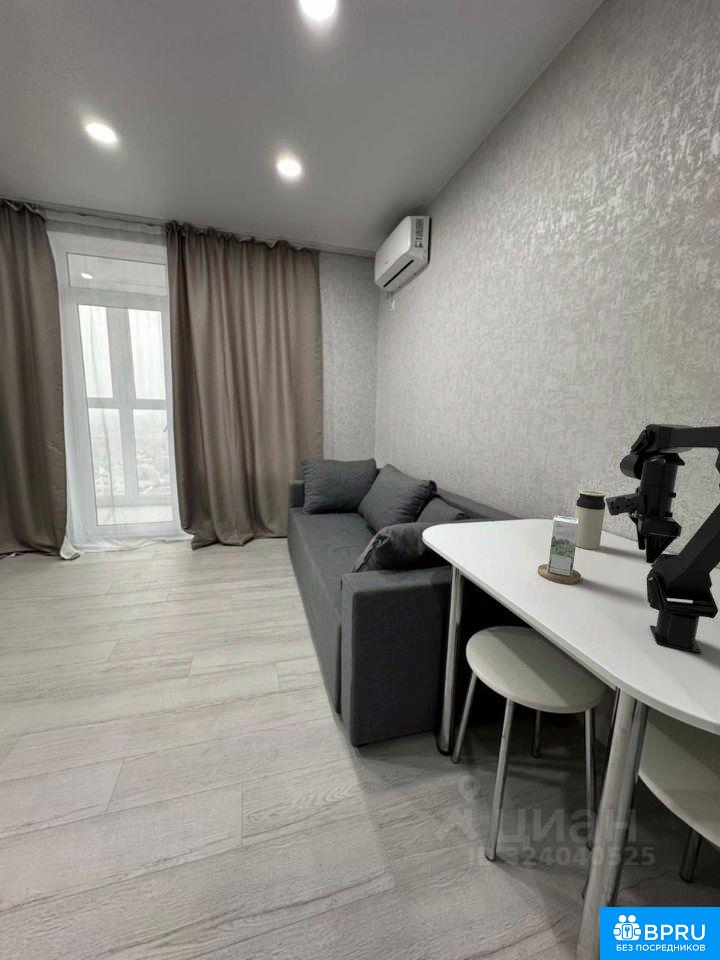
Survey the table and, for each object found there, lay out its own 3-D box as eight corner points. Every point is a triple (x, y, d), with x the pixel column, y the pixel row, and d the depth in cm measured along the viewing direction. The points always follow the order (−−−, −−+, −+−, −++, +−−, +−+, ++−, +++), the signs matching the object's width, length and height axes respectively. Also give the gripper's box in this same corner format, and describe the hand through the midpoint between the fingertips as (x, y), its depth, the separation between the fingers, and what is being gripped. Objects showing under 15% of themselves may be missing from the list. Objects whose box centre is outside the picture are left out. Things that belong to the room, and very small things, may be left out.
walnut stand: (581, 587, 93) (581, 582, 93) (536, 578, 98) (537, 573, 98) (579, 573, 102) (580, 568, 102) (538, 565, 107) (539, 561, 107)
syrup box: (571, 570, 101) (578, 517, 98) (571, 578, 96) (579, 522, 93) (547, 565, 104) (553, 514, 101) (546, 573, 98) (553, 519, 96)
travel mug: (594, 551, 120) (602, 495, 117) (567, 545, 125) (574, 491, 122) (602, 546, 125) (610, 492, 122) (576, 540, 131) (583, 488, 128)
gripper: (607, 475, 91) (598, 538, 94) (616, 487, 75) (605, 562, 77) (665, 480, 86) (654, 546, 89) (688, 494, 70) (674, 574, 72)
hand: (645, 556), depth 82 cm, fingers open, 9 cm apart
